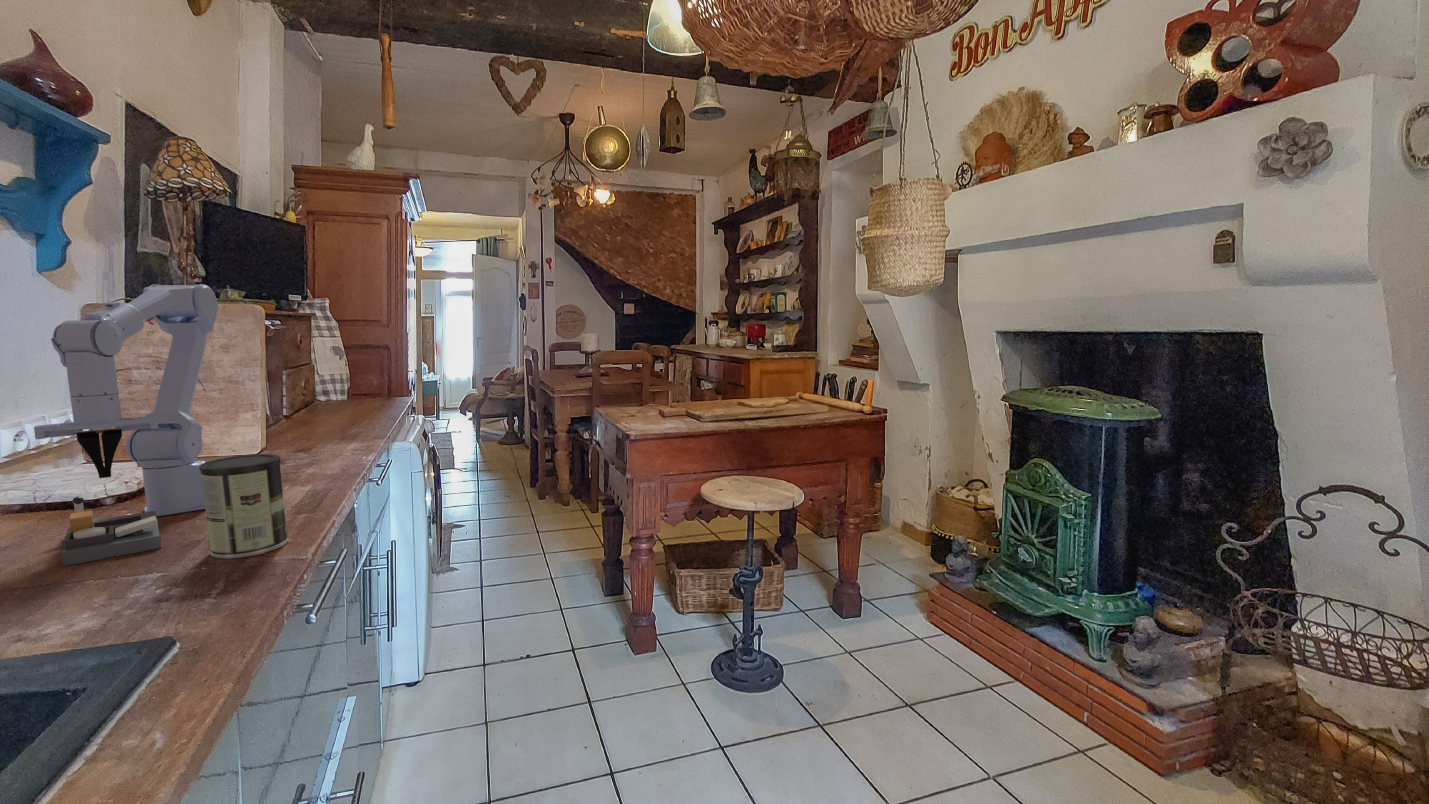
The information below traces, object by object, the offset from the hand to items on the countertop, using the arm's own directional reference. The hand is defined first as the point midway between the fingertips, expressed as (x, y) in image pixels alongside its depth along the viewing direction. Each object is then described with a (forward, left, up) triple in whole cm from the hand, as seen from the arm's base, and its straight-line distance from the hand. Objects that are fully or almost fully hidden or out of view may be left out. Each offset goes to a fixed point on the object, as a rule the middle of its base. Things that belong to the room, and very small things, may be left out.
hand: (105, 476), depth 107 cm
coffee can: (-16, +21, -11) cm, 29 cm away
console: (0, +3, -10) cm, 11 cm away
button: (+2, +8, -8) cm, 12 cm away
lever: (+4, -3, -7) cm, 9 cm away
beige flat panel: (-3, +8, -8) cm, 12 cm away
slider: (+3, +2, -8) cm, 9 cm away
